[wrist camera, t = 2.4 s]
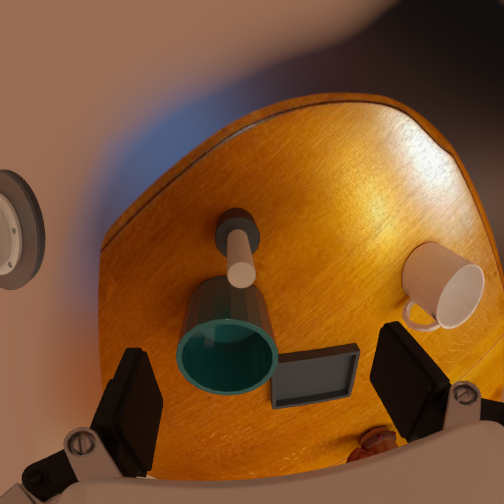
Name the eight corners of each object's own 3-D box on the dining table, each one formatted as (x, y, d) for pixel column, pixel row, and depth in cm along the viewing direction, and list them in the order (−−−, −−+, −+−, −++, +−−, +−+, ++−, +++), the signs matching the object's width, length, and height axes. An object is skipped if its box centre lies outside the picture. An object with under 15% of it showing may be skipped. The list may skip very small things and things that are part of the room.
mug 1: (398, 420, 50) (424, 469, 36) (380, 441, 52) (401, 488, 38) (345, 425, 48) (367, 483, 33) (328, 446, 50) (345, 501, 36)
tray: (270, 400, 43) (272, 409, 41) (269, 355, 40) (271, 364, 38) (346, 388, 44) (350, 396, 42) (355, 343, 40) (360, 350, 38)
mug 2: (432, 228, 35) (475, 249, 27) (452, 269, 38) (489, 293, 29) (375, 285, 37) (409, 319, 29) (401, 320, 40) (431, 355, 31)
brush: (218, 246, 34) (213, 305, 21) (215, 209, 32) (206, 247, 19) (256, 243, 34) (273, 300, 21) (254, 206, 33) (272, 242, 19)
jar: (193, 345, 38) (186, 396, 29) (181, 278, 35) (167, 322, 25) (267, 340, 39) (278, 391, 29) (265, 272, 35) (278, 314, 26)
